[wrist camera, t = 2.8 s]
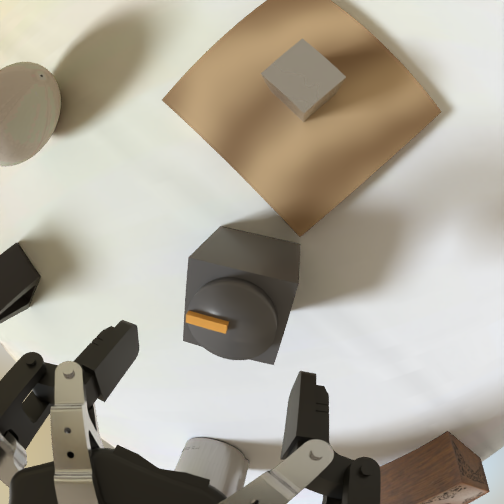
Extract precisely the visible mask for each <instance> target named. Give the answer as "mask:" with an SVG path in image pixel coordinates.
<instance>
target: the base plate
mask: <svg viewBox="0 0 504 504" xmlns="http://www.w3.org/2000/svg"><path fill="white" fill-rule="evenodd" d="M302 38H303V39H304V40H305V41H306V42H308V43H309V44H310V45H311V46H312V47H314V48H315V49H316V50H317V51H318V52H319V53H321V54H322V55H323V56H324V57H325V58H326V59H327V60H328V61H330V62H331V63H332V64H333V65H334V66H335V67H336V68H337V69H338V70H339V71H340V72H341V73H342V74H343V75H344V76H346V78H345V80H344V82H343V83H342V85H341V86H340V88H339V90H338V91H337V93H336V94H335V95H334V96H333V97H332V98H331V99H329V100H328V101H327V102H326V103H325V104H324V105H323V106H321V107H320V108H319V109H318V110H317V111H316V112H315V113H313V114H312V115H311V116H310V117H309V118H308V119H307V120H306V121H304V122H303V121H302V120H301V119H300V118H299V117H298V116H297V115H296V114H295V113H294V112H293V111H292V110H291V109H289V108H288V107H287V106H286V105H285V104H284V103H283V102H282V101H281V100H280V99H279V98H278V97H277V96H276V95H274V94H273V93H272V92H271V91H270V89H269V87H268V85H267V84H266V82H265V80H264V79H263V77H262V75H261V73H262V72H263V71H264V70H266V69H267V68H268V67H269V66H270V65H271V64H272V63H273V62H275V61H276V60H277V59H278V58H279V57H280V56H282V55H283V54H284V53H285V52H286V51H288V50H289V49H290V48H291V47H292V46H294V45H295V44H296V43H297V42H299V41H300V40H301V39H302ZM162 101H163V102H165V103H166V104H167V105H168V106H169V107H170V108H171V109H172V110H173V111H174V112H175V113H177V114H178V115H179V116H180V117H181V118H182V119H183V120H184V121H185V122H186V123H187V124H188V125H189V126H190V127H191V128H193V129H194V130H195V131H196V132H197V133H198V134H199V135H200V136H201V137H202V138H203V139H204V140H205V141H206V142H207V143H208V144H209V145H210V146H211V147H212V148H213V149H214V150H215V151H216V152H217V153H219V154H220V155H221V156H222V157H223V158H224V159H225V160H226V161H227V162H228V163H229V164H230V165H231V166H232V167H233V168H234V169H235V170H236V171H237V172H238V173H239V174H240V175H241V176H242V177H243V178H244V179H245V180H246V181H247V182H248V183H249V184H250V185H251V186H252V187H253V188H254V189H255V191H256V192H257V193H258V194H259V195H260V196H261V197H262V198H263V199H264V200H265V201H266V202H267V203H268V204H269V205H270V206H271V207H272V208H273V209H274V210H275V211H276V212H277V213H278V214H279V215H280V216H281V218H282V219H283V220H284V221H285V222H286V223H287V224H288V225H289V226H290V227H291V228H292V229H293V230H294V231H295V232H296V234H297V235H298V236H299V237H301V236H302V235H303V234H304V233H306V232H307V231H308V230H309V229H310V228H311V227H313V226H314V225H315V224H316V223H317V222H318V221H320V220H321V219H322V218H323V217H324V216H325V215H326V214H328V213H329V212H330V211H331V210H332V209H333V208H335V207H336V206H337V205H338V204H339V203H340V202H341V201H343V200H344V199H345V198H346V197H347V196H348V195H350V194H351V193H352V192H353V191H354V190H355V189H356V188H358V187H359V186H360V185H361V184H362V183H363V182H364V181H365V180H367V179H368V178H369V177H370V176H371V175H372V174H373V173H375V172H376V171H377V170H378V169H379V168H380V167H381V166H382V165H384V164H385V163H386V162H387V161H388V160H389V159H390V158H391V157H392V156H394V155H395V154H396V153H397V152H398V151H399V150H400V149H401V148H402V147H404V146H405V145H406V144H407V143H408V142H409V141H410V140H411V139H412V138H414V137H415V136H416V135H417V134H418V133H419V132H420V131H421V130H422V129H423V128H425V127H426V126H427V125H428V124H429V123H430V122H431V121H432V120H433V119H434V118H435V117H436V116H438V115H439V114H440V113H441V111H440V109H439V108H438V107H437V105H436V104H435V103H434V101H433V100H432V99H431V97H430V96H429V95H428V94H427V92H426V91H425V90H424V89H423V87H422V86H421V85H420V84H419V83H418V81H417V80H416V79H415V78H414V77H413V75H412V74H411V73H410V72H409V71H408V70H407V69H406V68H405V67H404V65H403V64H402V63H401V62H400V61H399V60H398V59H397V58H396V57H395V56H394V55H393V54H392V53H391V52H390V51H389V50H388V49H387V48H386V47H385V46H384V45H383V44H382V43H381V42H380V41H379V40H378V39H377V38H376V37H375V36H374V35H372V34H371V33H370V32H369V31H368V30H367V29H366V28H365V27H364V26H362V25H361V24H360V23H359V22H358V21H356V20H355V19H354V18H353V17H352V16H350V15H349V14H348V13H347V12H345V11H344V10H343V9H342V8H340V7H339V6H338V5H336V4H335V3H334V2H332V1H331V0H267V1H265V2H264V3H263V4H261V5H260V6H259V7H257V8H256V9H255V10H254V11H252V12H251V13H250V14H249V15H247V16H246V17H245V18H244V19H242V20H241V21H240V22H239V23H238V24H237V25H235V26H234V27H233V28H232V29H231V30H230V31H229V32H227V33H226V34H225V35H224V36H223V37H222V38H221V39H220V40H219V41H217V42H216V43H215V44H214V45H213V46H212V47H211V48H210V49H209V50H208V51H207V52H206V53H205V54H204V55H203V56H202V57H201V58H200V59H199V60H198V61H197V62H196V63H195V64H194V65H193V66H192V67H191V68H190V69H189V70H188V71H187V72H186V73H185V75H184V76H183V77H182V78H181V79H180V80H179V81H178V82H177V83H176V84H175V86H174V87H173V88H172V89H171V90H170V91H169V92H168V94H167V95H166V96H165V97H164V98H163V99H162Z"/></svg>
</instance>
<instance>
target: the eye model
mask: <svg viewBox="0 0 504 504" xmlns="http://www.w3.org/2000/svg"><path fill="white" fill-rule="evenodd" d="M60 109H61V95H60V90H59V86H58V84H57V81H56V79H55V78H54V76H53V75H52V74H51V73H50V72H49V71H48V70H47V69H46V68H45V67H43V66H41V65H39V64H36V63H31V62H19V63H15V64H11V65H9V66H6V67H4V68H2V69H1V70H0V166H13V165H17V164H20V163H22V162H24V161H26V160H28V159H30V158H31V157H33V156H34V155H35V154H36V153H38V152H39V151H40V150H41V149H42V148H43V146H44V145H45V144H46V143H47V141H48V140H49V138H50V137H51V135H52V134H53V132H54V130H55V127H56V125H57V122H58V119H59V115H60Z"/></svg>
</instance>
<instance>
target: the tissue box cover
mask: <svg viewBox="0 0 504 504" xmlns="http://www.w3.org/2000/svg"><path fill="white" fill-rule="evenodd" d="M380 473H381V493H380V504H468V503H470V502H472V501H474V500H475V499H477V498H479V497H481V496H483V495H485V494H486V493H488V492H489V488H488V484H487V480H486V476H485V473H484V469H483V465H482V462H481V459H480V458H479V457H478V456H477V455H476V454H475V453H473V452H472V451H471V450H470V449H469V448H467V447H466V446H465V445H464V444H463V443H461V442H460V441H459V440H458V439H457V438H455V437H454V436H453V435H452V434H451V433H449V432H448V431H447V432H446V433H444V434H442V435H441V436H439V437H437V438H436V439H434V440H432V441H431V442H429V443H427V444H425V445H423V446H422V447H420V448H418V449H416V450H414V451H412V452H410V453H408V454H406V455H404V456H402V457H400V458H398V459H396V460H394V461H392V462H390V463H388V464H385V465H383V466H381V467H380Z"/></svg>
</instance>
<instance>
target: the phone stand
mask: <svg viewBox="0 0 504 504" xmlns="http://www.w3.org/2000/svg"><path fill="white" fill-rule="evenodd" d="M39 279H40V275H39V274H38V273H37V271H36V270H35V268H34V267H33V265H32V264H31V263H30V261H29V260H28V258H27V257H26V255H25V253H24V252H23V250H22V249H21V247H20V246H19V244H18V243H15V244H14V245H13V246H11V247H10V248H9V249H7V250H6V251H5V252H3V253H2V254H1V255H0V323H2V322H4V321H6V320H7V319H9V318H11V317H13V316H15V315H17V314H18V313H20V312H22V311H24V310H26V309H28V308H29V306H30V303H31V300H32V297H33V295H34V292H35V289H36V287H37V284H38V282H39Z"/></svg>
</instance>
